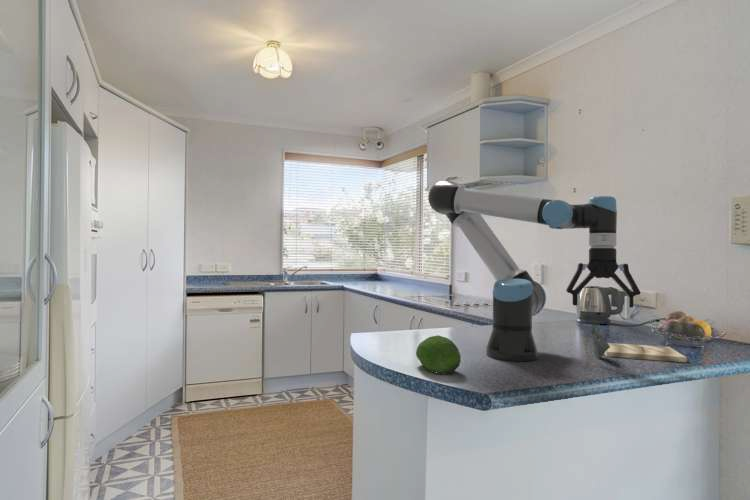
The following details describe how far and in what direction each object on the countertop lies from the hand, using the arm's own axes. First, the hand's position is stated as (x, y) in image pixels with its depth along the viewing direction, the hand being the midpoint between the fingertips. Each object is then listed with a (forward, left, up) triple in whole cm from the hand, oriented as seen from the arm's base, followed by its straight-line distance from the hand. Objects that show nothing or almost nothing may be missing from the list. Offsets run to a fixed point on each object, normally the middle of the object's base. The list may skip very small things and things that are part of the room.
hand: (602, 317), depth 143 cm
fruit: (-46, -31, -13) cm, 57 cm away
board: (+14, +14, -13) cm, 24 cm away
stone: (0, 0, -13) cm, 13 cm away
